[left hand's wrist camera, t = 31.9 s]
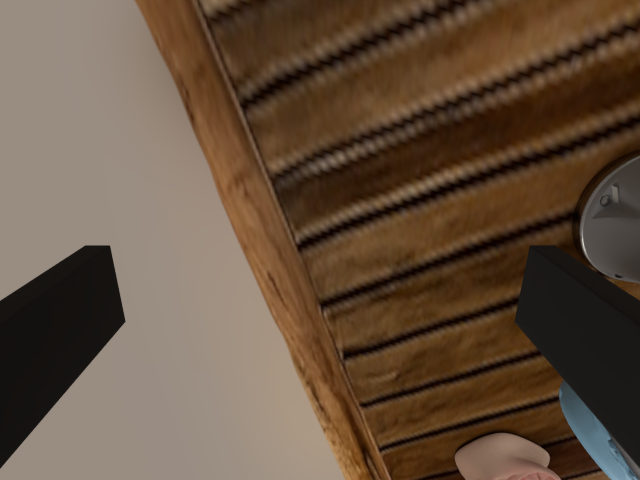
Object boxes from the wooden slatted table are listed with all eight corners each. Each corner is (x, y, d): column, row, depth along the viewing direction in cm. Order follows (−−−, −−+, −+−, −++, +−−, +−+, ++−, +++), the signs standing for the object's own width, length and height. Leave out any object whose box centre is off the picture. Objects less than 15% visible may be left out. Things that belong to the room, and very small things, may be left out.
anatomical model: (449, 488, 55) (511, 440, 52) (441, 463, 59) (498, 416, 55) (513, 528, 58) (575, 484, 55) (501, 501, 61) (559, 459, 58)
